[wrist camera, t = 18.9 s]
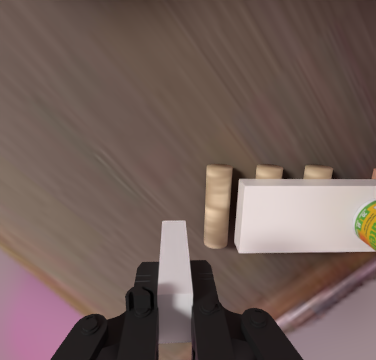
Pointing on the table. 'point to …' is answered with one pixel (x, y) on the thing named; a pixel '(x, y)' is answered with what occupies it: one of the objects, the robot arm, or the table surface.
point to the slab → (300, 215)
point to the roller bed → (221, 194)
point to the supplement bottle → (366, 223)
